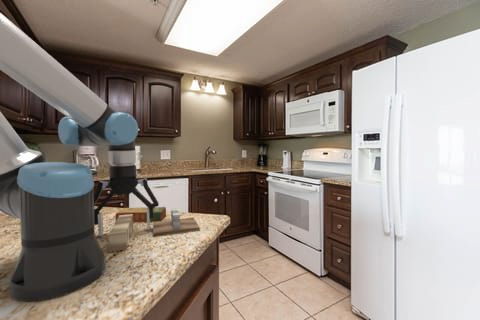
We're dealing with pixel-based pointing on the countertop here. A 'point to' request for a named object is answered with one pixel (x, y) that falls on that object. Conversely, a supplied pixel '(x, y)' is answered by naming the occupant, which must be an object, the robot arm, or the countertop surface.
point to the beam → (121, 233)
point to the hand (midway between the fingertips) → (125, 231)
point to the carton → (143, 214)
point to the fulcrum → (174, 225)
